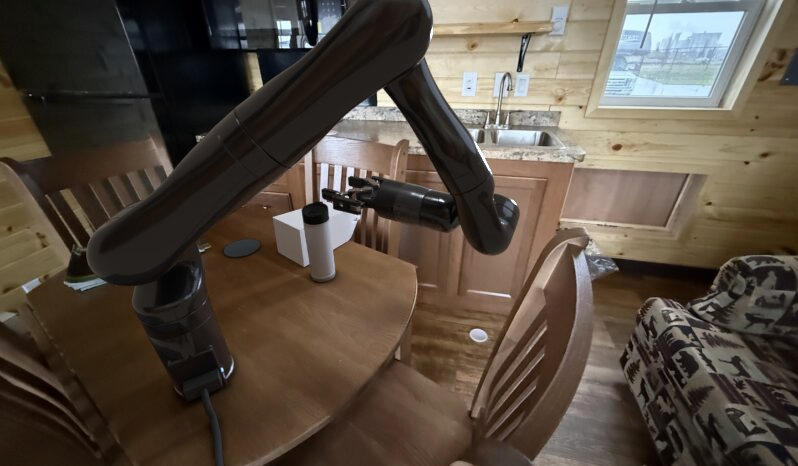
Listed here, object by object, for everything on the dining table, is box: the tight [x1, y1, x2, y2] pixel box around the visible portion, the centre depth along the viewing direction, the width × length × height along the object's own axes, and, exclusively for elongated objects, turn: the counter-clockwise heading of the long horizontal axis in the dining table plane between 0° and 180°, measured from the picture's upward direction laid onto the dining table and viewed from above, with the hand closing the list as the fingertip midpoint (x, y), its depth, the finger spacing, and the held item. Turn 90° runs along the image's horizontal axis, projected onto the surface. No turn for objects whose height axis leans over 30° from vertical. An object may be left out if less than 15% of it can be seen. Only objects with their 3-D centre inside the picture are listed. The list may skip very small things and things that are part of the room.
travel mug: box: [301, 200, 336, 283], centre depth 79 cm, size 6×7×20 cm
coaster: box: [223, 238, 261, 259], centre depth 94 cm, size 10×10×1 cm
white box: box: [272, 201, 361, 268], centre depth 96 cm, size 12×12×26 cm
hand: (336, 186), depth 65 cm, fingers open, 8 cm apart
